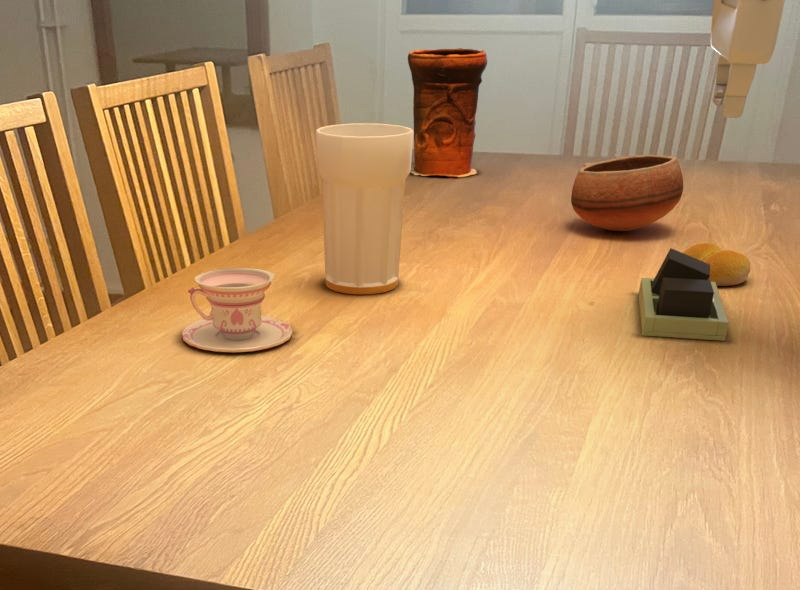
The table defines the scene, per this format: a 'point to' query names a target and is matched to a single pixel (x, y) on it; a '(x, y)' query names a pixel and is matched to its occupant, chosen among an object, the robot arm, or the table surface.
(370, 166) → the cup
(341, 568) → the table surface
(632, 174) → the bowl
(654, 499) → the table surface
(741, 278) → the bread roll
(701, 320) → the frame
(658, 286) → the pad
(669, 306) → the black block
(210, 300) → the teacup
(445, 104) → the vessel
